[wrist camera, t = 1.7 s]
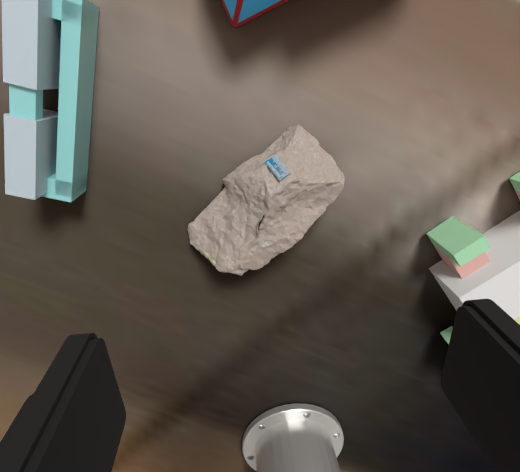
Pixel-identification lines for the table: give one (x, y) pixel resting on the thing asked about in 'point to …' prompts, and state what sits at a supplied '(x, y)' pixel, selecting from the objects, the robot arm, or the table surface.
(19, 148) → the blocks in teal channel
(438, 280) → the decorative block
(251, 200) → the concrete fragment
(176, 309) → the table surface
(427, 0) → the table surface
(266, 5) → the toy truck
